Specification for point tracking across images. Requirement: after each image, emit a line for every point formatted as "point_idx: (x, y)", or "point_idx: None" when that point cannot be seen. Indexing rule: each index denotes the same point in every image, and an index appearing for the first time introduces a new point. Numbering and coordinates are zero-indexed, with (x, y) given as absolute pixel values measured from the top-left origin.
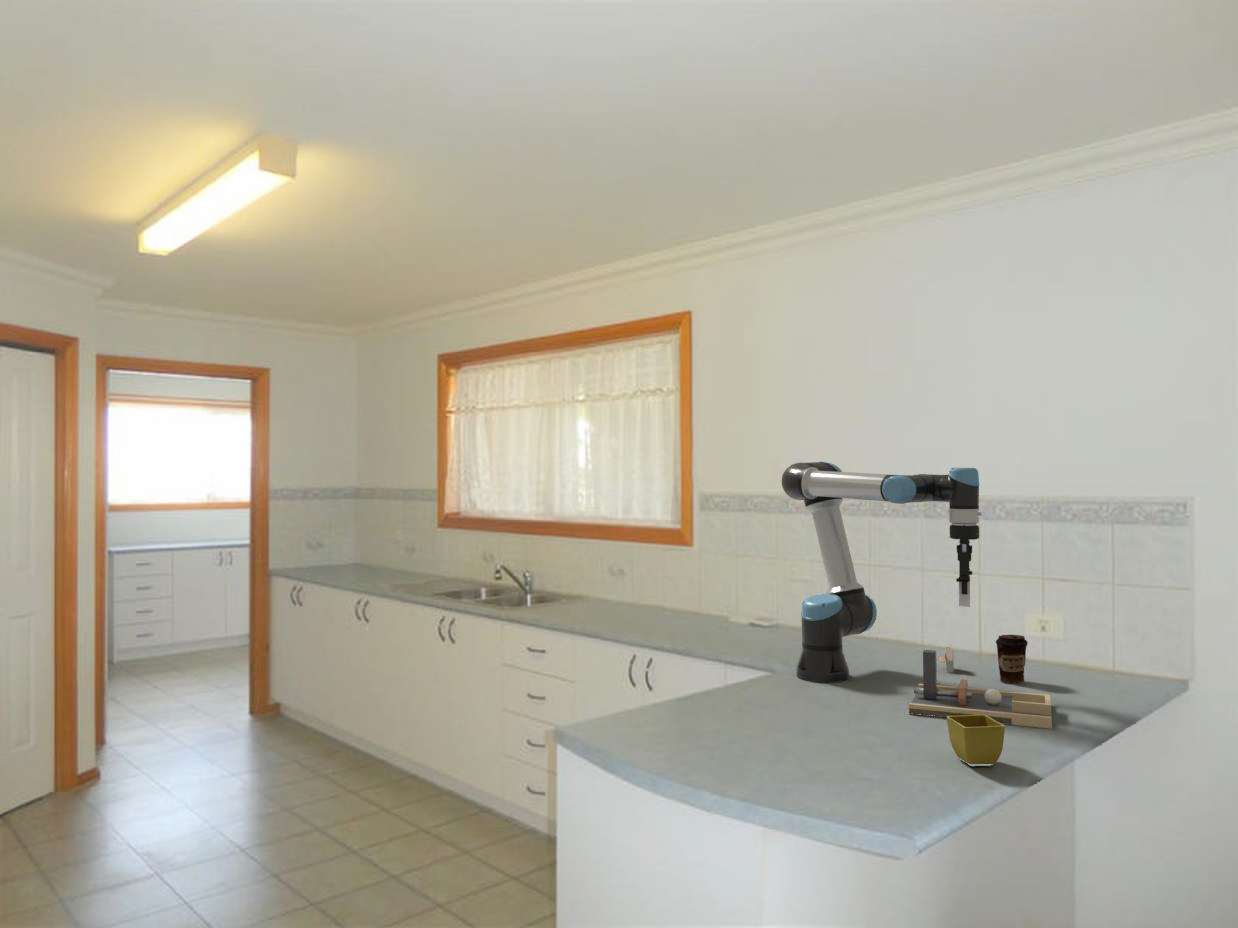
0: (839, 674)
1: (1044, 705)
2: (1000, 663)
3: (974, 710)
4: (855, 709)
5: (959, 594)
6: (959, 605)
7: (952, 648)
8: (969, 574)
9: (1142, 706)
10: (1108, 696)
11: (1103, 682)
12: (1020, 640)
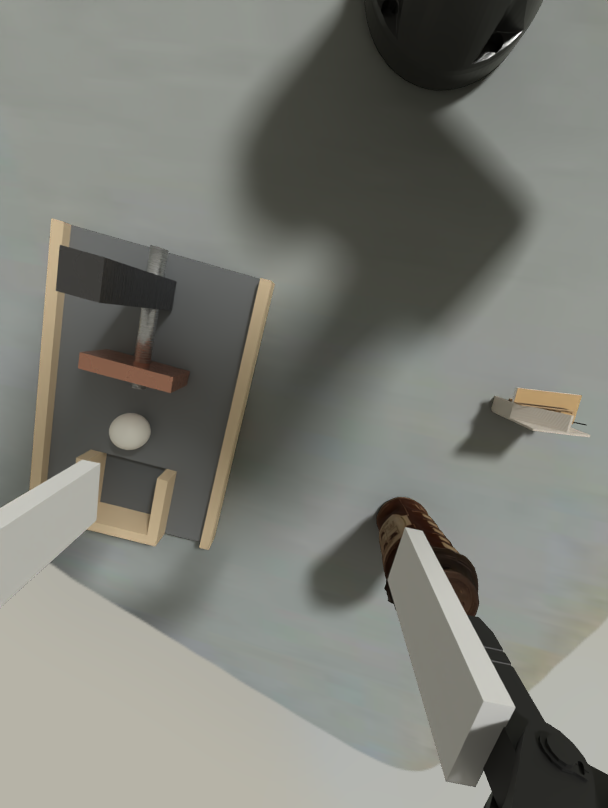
0: (382, 31)
1: None
2: (403, 519)
3: (39, 369)
4: (77, 78)
5: (15, 502)
6: (78, 464)
7: (543, 430)
8: (491, 794)
9: (231, 672)
10: (293, 647)
11: (401, 673)
12: None
